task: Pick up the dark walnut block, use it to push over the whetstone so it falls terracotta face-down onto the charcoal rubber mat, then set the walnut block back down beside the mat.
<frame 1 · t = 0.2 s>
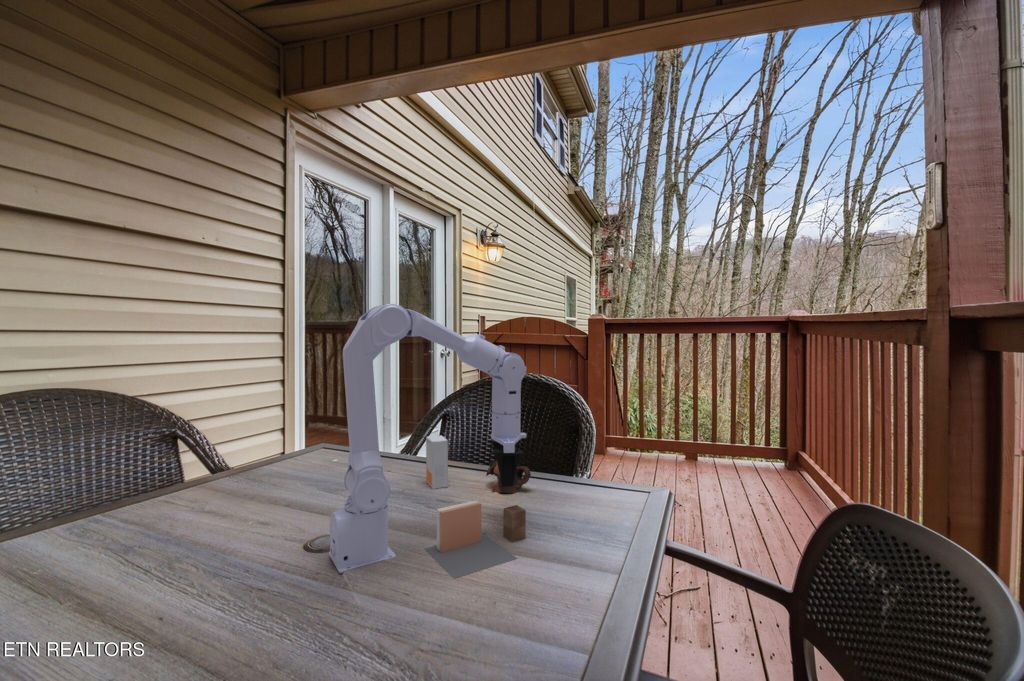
hand: (505, 479, 94), 10 cm above the table, tool pointing down, fingers open, 7 cm apart
skincare box: (436, 485, 120), on the table
walnut block: (514, 540, 88), on the table
pottery mug: (508, 489, 117), on the table
mat: (469, 556, 82), on the table
whetstone: (459, 544, 85), point 1 cm above the table, touching mat
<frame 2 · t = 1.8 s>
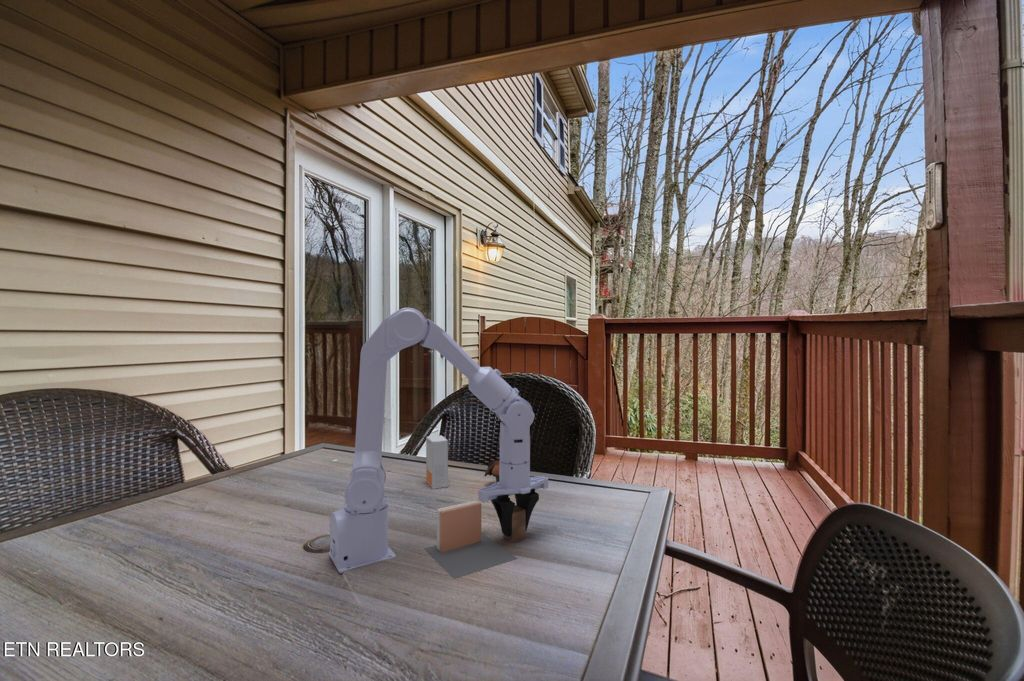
hand: (514, 532, 88), 2 cm above the table, tool pointing down, fingers closed on walnut block, 3 cm apart
walnut block: (514, 540, 88), on the table, touching gripper
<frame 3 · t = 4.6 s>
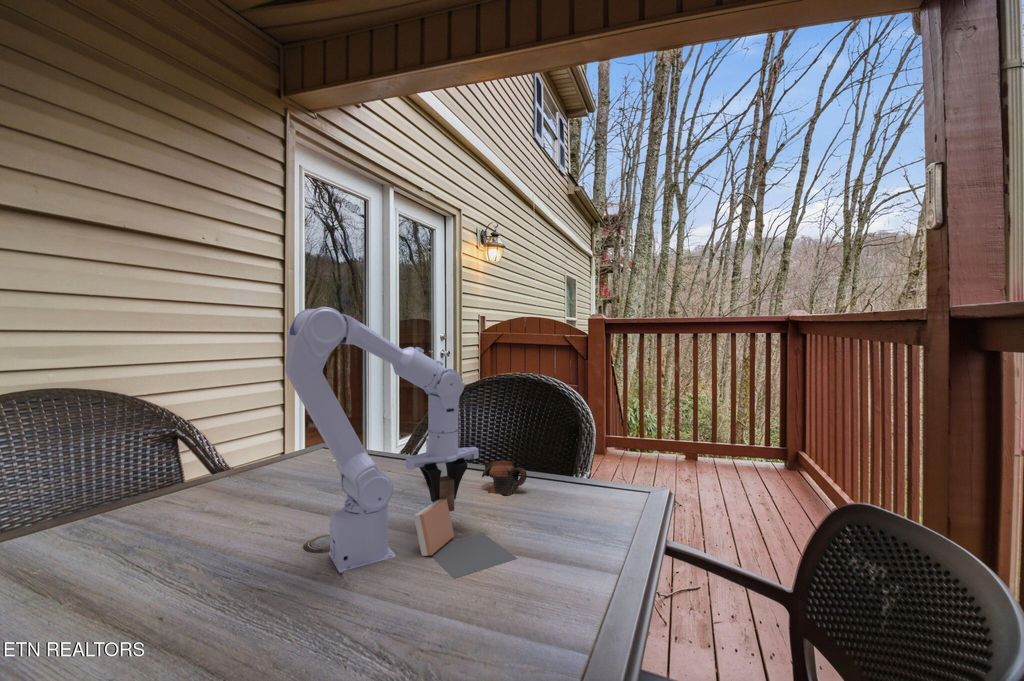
hand: (443, 500, 91), 7 cm above the table, tool pointing down, fingers closed on walnut block, 3 cm apart
walnut block: (443, 509, 91), point 5 cm above the table, touching gripper, whetstone
whetstone: (438, 545, 84), point 1 cm above the table, tilted 13°, touching gripper, mat, walnut block
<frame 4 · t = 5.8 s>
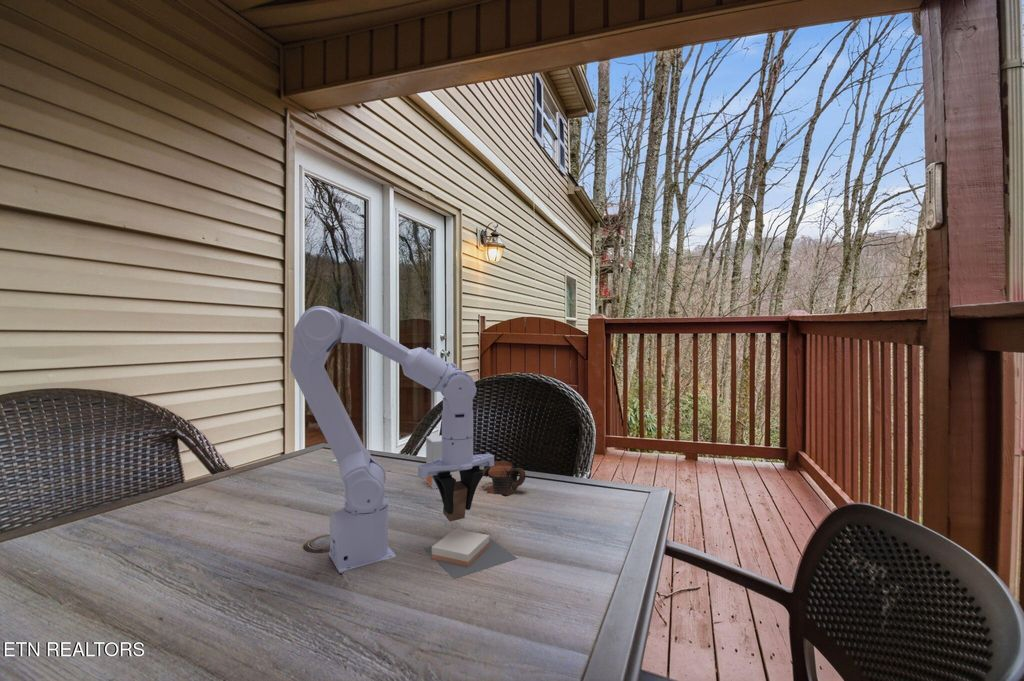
hand: (457, 510, 86), 7 cm above the table, tool pointing down, fingers closed on walnut block, 3 cm apart
walnut block: (453, 515, 87), point 5 cm above the table, tilted 11°, touching gripper
whetstone: (443, 542, 84), point 2 cm above the table, tilted 90°, touching mat
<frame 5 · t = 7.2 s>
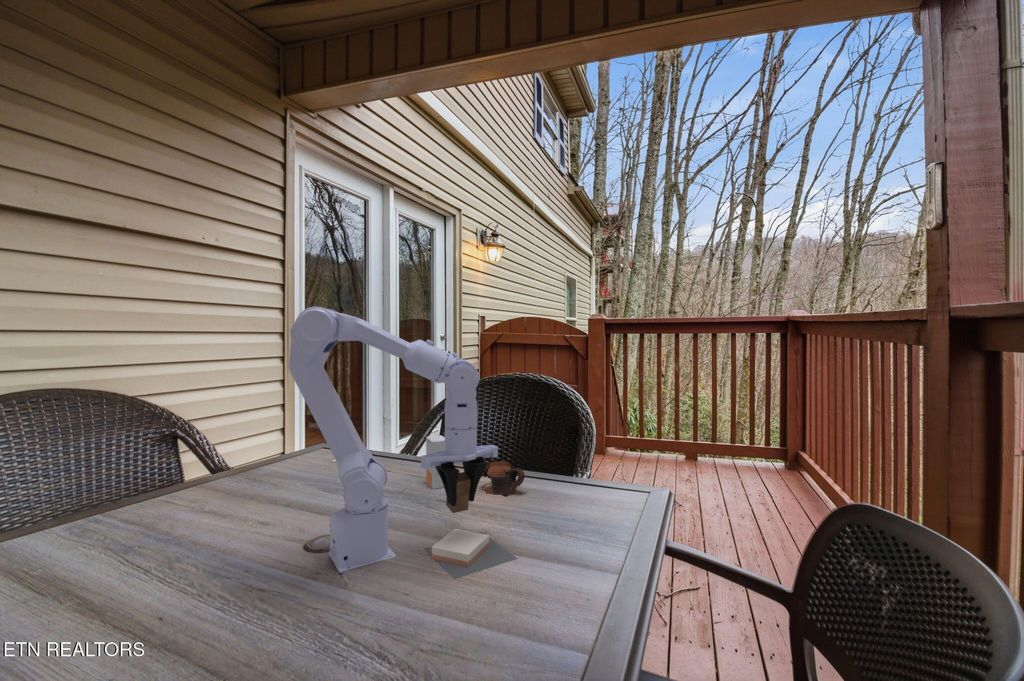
hand: (460, 501, 85), 9 cm above the table, tool pointing down, fingers closed on walnut block, 3 cm apart
walnut block: (456, 507, 86), point 7 cm above the table, tilted 11°, touching gripper
when the fingers open (3 cm above the table, at t = 9.3 s): walnut block drops 1 cm, on the table.
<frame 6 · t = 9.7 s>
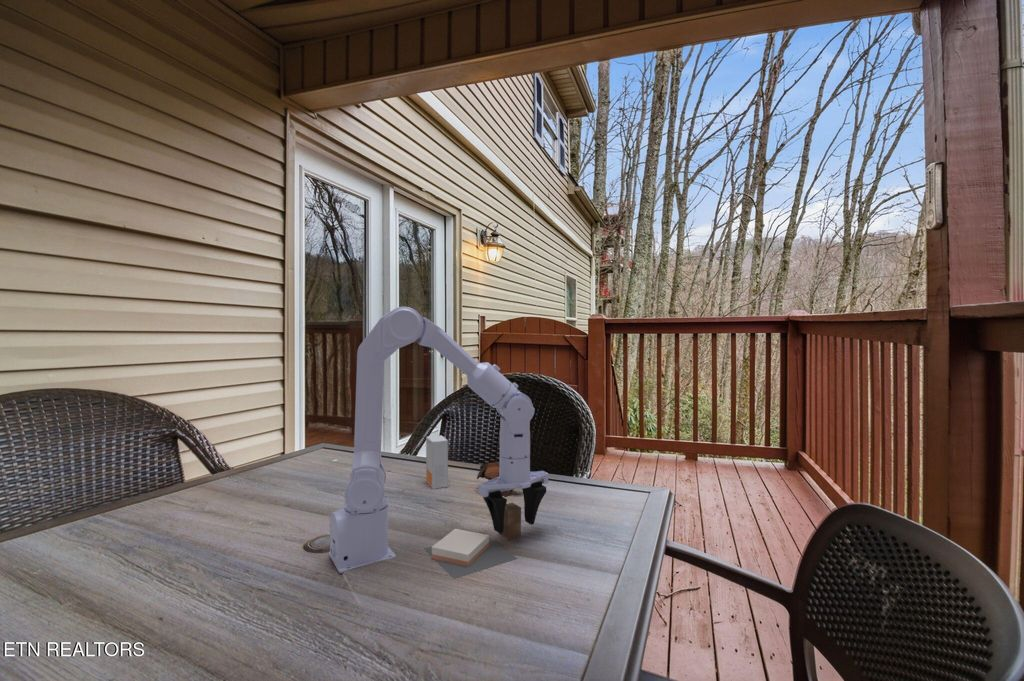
hand: (514, 526, 88), 3 cm above the table, tool pointing down, fingers open, 6 cm apart
walnut block: (510, 537, 90), on the table
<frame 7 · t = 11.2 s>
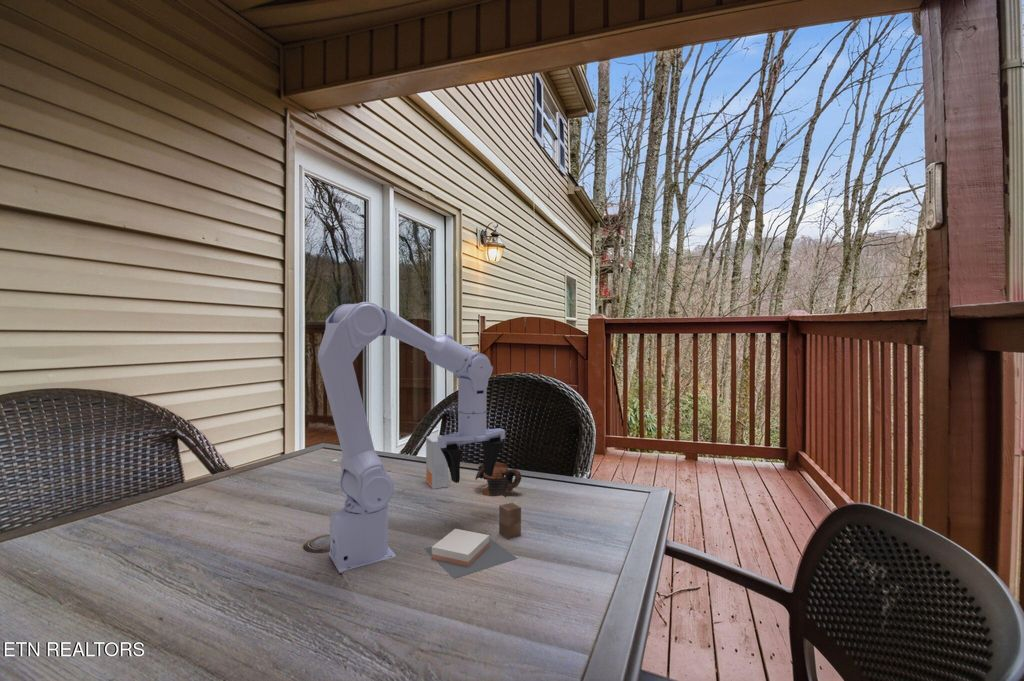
hand: (472, 478, 96), 9 cm above the table, tool pointing down, fingers open, 7 cm apart
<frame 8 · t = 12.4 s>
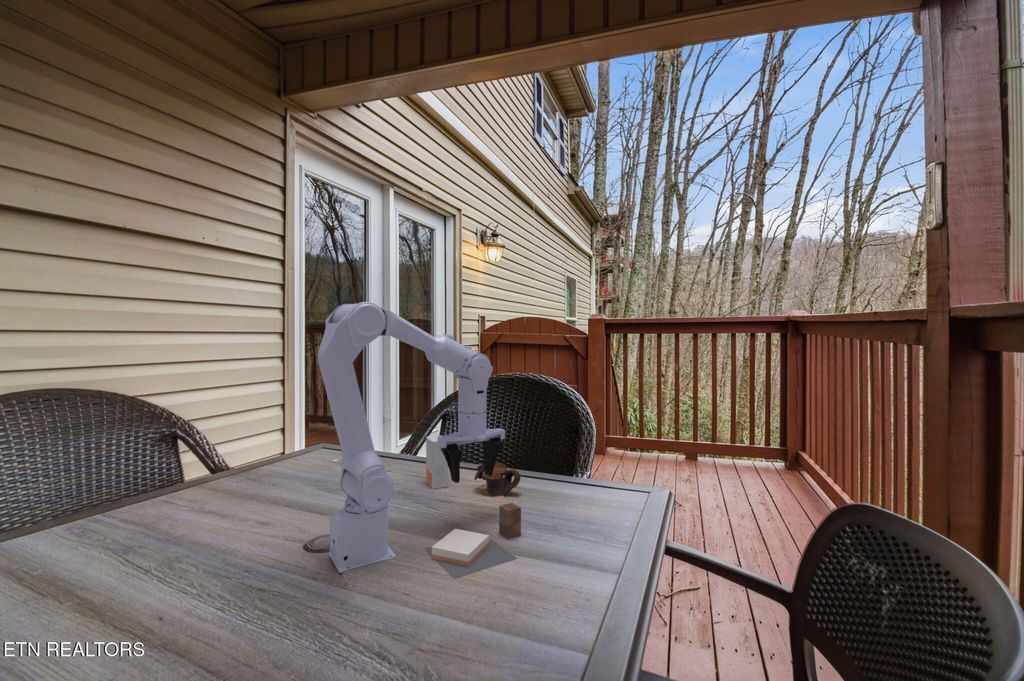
hand: (472, 478, 96), 9 cm above the table, tool pointing down, fingers open, 7 cm apart
at the end: whetstone tilted 90°; whetstone inside the target area (4.0 cm from its centre), point 1.6 cm above the table; walnut block inside the target area (1.5 cm from its centre), on the table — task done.
